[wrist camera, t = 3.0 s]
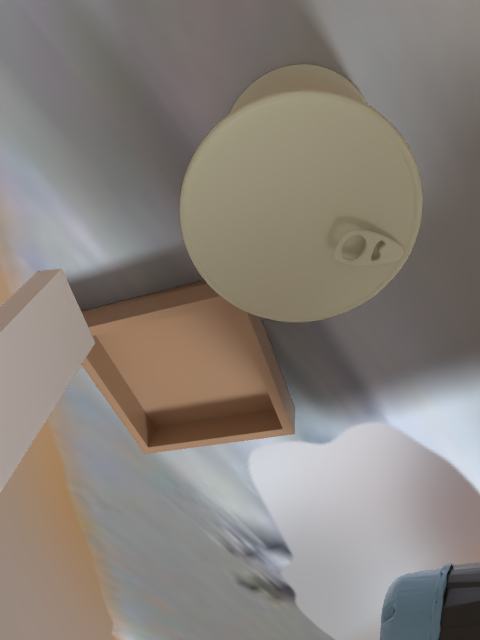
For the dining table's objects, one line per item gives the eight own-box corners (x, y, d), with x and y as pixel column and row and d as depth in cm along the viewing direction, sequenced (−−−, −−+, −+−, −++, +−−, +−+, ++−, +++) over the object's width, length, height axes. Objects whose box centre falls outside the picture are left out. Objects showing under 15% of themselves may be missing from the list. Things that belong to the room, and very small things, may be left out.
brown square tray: (243, 270, 30) (238, 291, 28) (294, 407, 37) (294, 434, 35) (77, 312, 34) (60, 334, 32) (153, 429, 41) (144, 453, 39)
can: (341, 240, 28) (364, 353, 18) (209, 205, 28) (160, 300, 18) (403, 89, 23) (484, 134, 13) (240, 43, 22) (195, 52, 12)
